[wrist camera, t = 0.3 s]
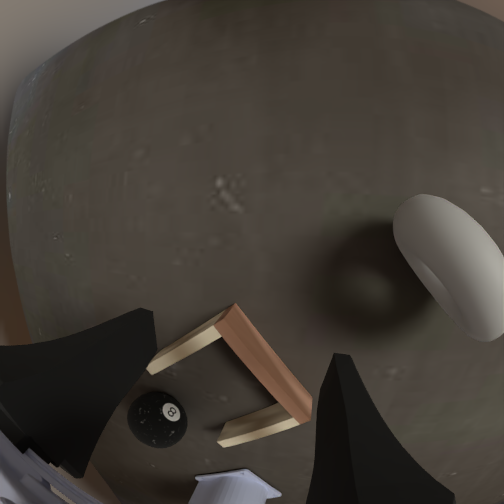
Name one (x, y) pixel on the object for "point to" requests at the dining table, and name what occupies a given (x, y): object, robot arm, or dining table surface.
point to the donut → (454, 263)
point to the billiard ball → (157, 420)
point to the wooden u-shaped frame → (260, 364)
